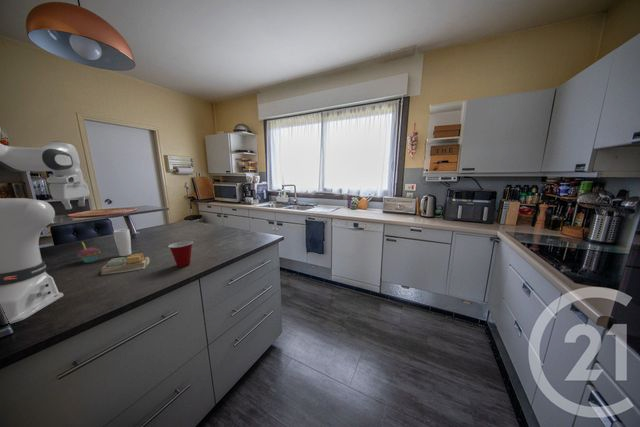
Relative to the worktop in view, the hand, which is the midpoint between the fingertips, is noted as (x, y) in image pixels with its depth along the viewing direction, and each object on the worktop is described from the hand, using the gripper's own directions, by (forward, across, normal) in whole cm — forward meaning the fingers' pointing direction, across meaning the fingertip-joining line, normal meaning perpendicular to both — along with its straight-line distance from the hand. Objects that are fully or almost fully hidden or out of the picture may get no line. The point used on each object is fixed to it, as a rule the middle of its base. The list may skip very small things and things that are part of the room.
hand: (75, 207), depth 100 cm
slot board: (+31, +8, +18) cm, 37 cm away
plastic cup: (+31, +15, +43) cm, 55 cm away
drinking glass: (+31, -14, +10) cm, 36 cm away
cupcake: (+31, -11, -4) cm, 33 cm away
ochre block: (+30, +8, +22) cm, 38 cm away
